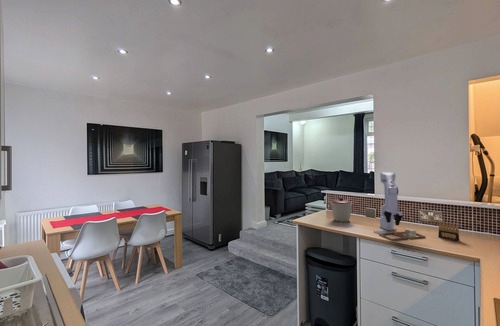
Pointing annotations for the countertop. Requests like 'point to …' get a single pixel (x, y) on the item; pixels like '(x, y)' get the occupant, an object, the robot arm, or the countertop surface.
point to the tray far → (411, 237)
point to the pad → (381, 232)
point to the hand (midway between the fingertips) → (392, 223)
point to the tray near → (394, 234)
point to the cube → (410, 232)
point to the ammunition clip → (444, 231)
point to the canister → (341, 209)
